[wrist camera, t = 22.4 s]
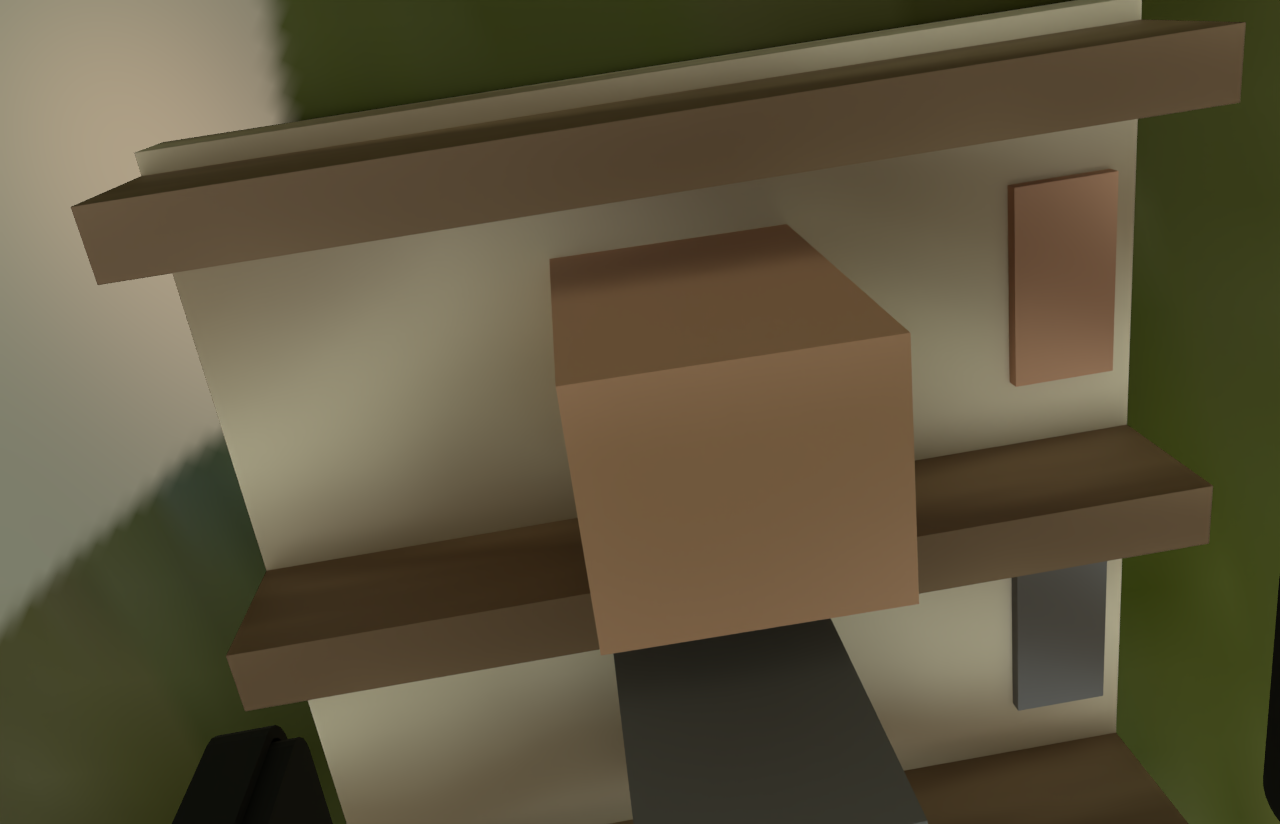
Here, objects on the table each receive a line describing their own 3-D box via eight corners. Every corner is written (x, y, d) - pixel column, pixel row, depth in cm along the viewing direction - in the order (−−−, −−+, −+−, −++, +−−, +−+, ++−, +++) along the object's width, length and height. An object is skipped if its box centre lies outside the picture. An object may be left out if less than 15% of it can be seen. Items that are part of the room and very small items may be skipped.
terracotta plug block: (801, 419, 21) (919, 604, 15) (581, 453, 21) (600, 655, 14) (786, 223, 20) (910, 332, 13) (549, 259, 19) (555, 386, 13)
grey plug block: (831, 734, 24) (939, 1003, 18) (638, 770, 24) (676, 1056, 17) (814, 585, 23) (927, 820, 16) (609, 623, 22) (639, 876, 16)
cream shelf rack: (1083, 744, 27) (1184, 881, 23) (385, 870, 26) (356, 1035, 22) (1100, -4, 20) (1247, -6, 16) (163, 142, 20) (60, 180, 15)
